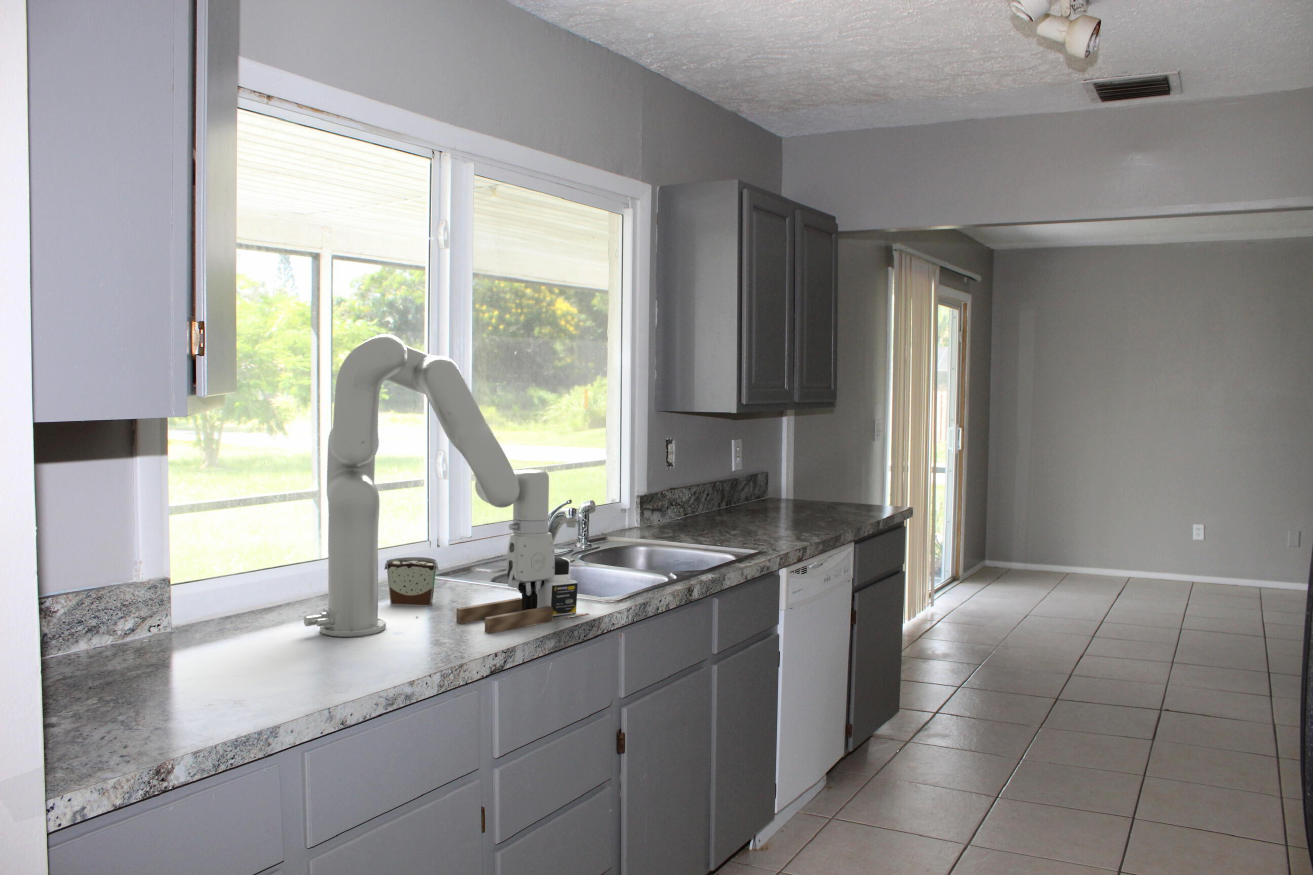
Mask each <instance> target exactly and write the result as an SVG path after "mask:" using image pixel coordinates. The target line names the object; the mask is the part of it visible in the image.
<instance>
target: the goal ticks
mask: <svg viewBox="0 0 1313 875" xmlns="http://www.w3.org/2000/svg"><path fill="white" fill-rule="evenodd" d="M586 614H589V615H590V613H589V612H586V613H580V614H576V615H577V616H578V617H581V616H580V615H584V616H587V615H586ZM565 619H571V618H570V617H569V616H565Z"/></svg>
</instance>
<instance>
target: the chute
mask: <svg viewBox="0 0 1313 875" xmlns="http://www.w3.org/2000/svg"><path fill="white" fill-rule="evenodd" d="M455 616H456V618H455V619H456V620H455V621H456V622H455V623H457V624H466V623H472V622H478V621H484V633H485V634H488V635H490V634H495V633H500V632H504V631H509V630H510V631H511V630H514V629H515V630H516V629H519V628H525V627H531V626H534V625H541V624H545V623H551V622H553V617H554V616H553V607H550V606H546V607H540V608H535V609H529V610H524V611H522V597H516V598H510V599H504V600H503V599H502V600H498V601H492V602H487V603H480V604H474V605H470V606H469V605H468V606H463V607H457V608H456V615H455Z"/></svg>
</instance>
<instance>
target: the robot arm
mask: <svg viewBox="0 0 1313 875" xmlns="http://www.w3.org/2000/svg"><path fill="white" fill-rule="evenodd" d="M385 381H387V382H390V383H391V384H392V383H393V384H394V385H398V386H400V387H403V388H406V389H408V390H412V391H414V392H417V393H419V394H423V395H424V396H425V397H426V399H427V400H428V402H429V405H430V406H431V408H432V410H433V412H434V414H435V416H436V417H437V420H438V422H439V423H440V426H441V427H442V430H443V432H444V434H445V435H446V437H447V438H448V440H449V441H450V443H451V444H452V445H453V447H455V449H456V450H457V451H458V452H459V453H460V454H461V455H462V457H463V459H465V460H464V461H466V463H467V464H468V465H469V467H470V469H471V471H472V473H473V475H474V477H475V478H476V479H475V483H474V489H475V492H476V494H477V496H478V498H480V499H481V500H482V501H484V502H485V503H487V504H489V505H490V506H492V507H495V508H499V509H503V508H508V507H510V506H512V505H513V506H512V507H513V508H512V511H513V512H512V523H510V524H508V529H509V530H510V531H512V533H511V534H510V537H509V541H508V546H507V554H506V571H505V572H506V578H507V580H508V582H507V587H508V588H512V589H517V590H518V592H519V594H521V598H522V611H524V610H529V609H535V608H537V596H538V594H539V593H540V589H541V588H542V586H543V585H544V581H547V579H550V578H552V577H553V576H554V575H555V557H556V556H555V554H556V553H555V546H554V539H553V534H552V533H551V532H549V498H550V496H549V495H550V490H549V489H550V477H549V476H550V475H549V474H548V472H547V471H546V470H543V469H534V468H533V469H528V468H526V469H520V470H514V469H513V467H512V465H511V463H510V461H509V459H508V458H507V457H508V456H506V454H505V451H504V450H503V448H502V446H501V444H500V443H499V442H498V440H497V438H496V436H495V435H494V433H493V431H492V429H491V427H490V425H489V424H488V422H487V421H486V419H485V417H484V415H483V413H482V411H481V409H480V407H479V405H478V403H477V401H476V400H475V397H474V395H473V394H472V392H471V389H470V387H469V385H468V383H467V381H466V379H465V377H464V375H463V374H462V371H461V370H460V368H459V366H458V364H456V362H455V361H454V360H453V359H451V358H449V357H447V356H444V355H432V354H430V353H426V352H423V351H422V350H421V351H420V350H419V349H415V348H413V347H410V346H409V345H406V344H404V342H403V341H402V340H401V339H400V338H399V337H397V336H395V335H393V334H378V335H376V336H373V337H371V338H369V339H367V340H365V341H363V342H361V343H360V344H359V345H357V346H356V347H354V348H353V349H352V350H351V351H350V353H349V354H348V355H347V356H346V357H345V358H344V360H343V362H342V364H341V365H340V368H339V370H338V373H337V377H336V382H335V387H334V388H335V389H334V390H335V391H334V401H333V402H334V404H333V421H332V422H333V423H332V428H331V430H330V432H329V435H328V439H327V440H328V441H327V462H326V463H327V464H326V497H327V503H328V506H327V508H328V520H327V521H328V522H327V523H328V529H327V534H328V536H327V537H328V538H327V539H328V540H327V549H328V550H327V553H328V554H327V555H328V563H327V564H328V566H327V568H328V569H327V571H328V573H327V575H328V576H327V578H328V579H327V580H328V583H327V584H328V585H327V586H328V588H327V589H328V590H327V591H328V595H327V596H328V600H327V601H328V602H327V603H328V604H327V605H328V607H324V608H323V609H322V611H323V612H320V613H319V614H315V615H313V614H312V615H307V616H304V617H303V624H304V627H312V626H316V627H319V632H320V633H321V634H323V635H326V636H331V637H340V638H342V637H343V638H345V637H346V638H347V637H348V638H349V637H350V638H351V637H362V636H363V637H364V636H369V635H373V634H377V633H380V632H382V631H384V630H385V629H386V627H387V623H386V621H385V620H384V619H382V618H379V596H378V595H379V517H380V493H379V490H378V488H377V485H376V484H375V469H376V468H375V465H376V464H375V463H376V455H377V452H378V450H379V445H380V444H379V443H380V441H379V440H380V439H379V406H380V393H381V389H382V386H383V383H384V382H385Z"/></svg>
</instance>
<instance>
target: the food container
mask: <svg viewBox="0 0 1313 875" xmlns="http://www.w3.org/2000/svg"><path fill="white" fill-rule="evenodd" d="M383 568H384V570H386V571H387V582H388V591H389V592H388V594H389V602H390V605H391V606H409V607H411V606H413V607H432V606H433V602H434V601H433V600H434V590H435V580H436V574H437V573H436V572H439V570H440V569H439V563H438V562H437V560H436V559H435V558H431V557H424V556H423V557H421V556H420V557H419V556H408V557H407V556H405V557H397V558H390V559H387V560H386V563H384V567H383Z"/></svg>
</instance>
